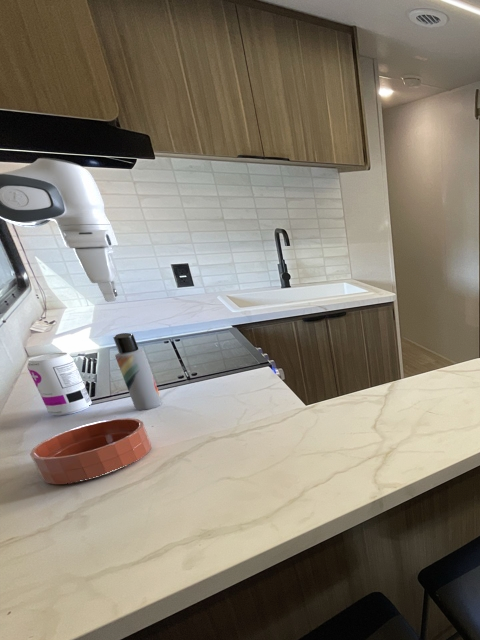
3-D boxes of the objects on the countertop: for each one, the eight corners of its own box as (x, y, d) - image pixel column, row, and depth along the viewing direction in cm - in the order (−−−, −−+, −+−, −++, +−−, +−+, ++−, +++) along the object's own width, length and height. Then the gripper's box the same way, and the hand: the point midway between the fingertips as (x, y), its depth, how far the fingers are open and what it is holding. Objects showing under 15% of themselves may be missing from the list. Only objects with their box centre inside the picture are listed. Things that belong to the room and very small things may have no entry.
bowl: (37, 498, 71) (21, 469, 69) (51, 461, 83) (38, 435, 81) (153, 463, 81) (142, 437, 79) (151, 434, 93) (142, 411, 91)
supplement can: (50, 419, 102) (24, 364, 97) (49, 410, 107) (24, 357, 102) (94, 408, 108) (71, 355, 102) (91, 400, 113) (69, 350, 108)
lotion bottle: (158, 399, 112) (133, 330, 105) (165, 404, 109) (140, 333, 102) (132, 407, 108) (104, 335, 101) (139, 412, 105) (111, 338, 98)
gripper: (76, 239, 98) (98, 295, 103) (64, 239, 83) (90, 306, 88) (111, 237, 102) (130, 292, 107) (105, 238, 87) (128, 302, 92)
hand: (112, 298), depth 97 cm, fingers open, 8 cm apart
